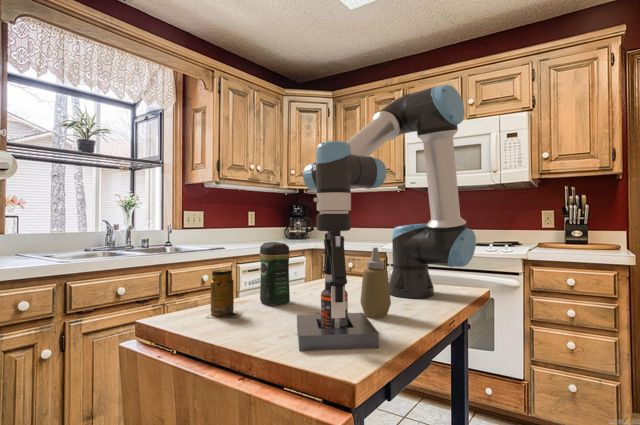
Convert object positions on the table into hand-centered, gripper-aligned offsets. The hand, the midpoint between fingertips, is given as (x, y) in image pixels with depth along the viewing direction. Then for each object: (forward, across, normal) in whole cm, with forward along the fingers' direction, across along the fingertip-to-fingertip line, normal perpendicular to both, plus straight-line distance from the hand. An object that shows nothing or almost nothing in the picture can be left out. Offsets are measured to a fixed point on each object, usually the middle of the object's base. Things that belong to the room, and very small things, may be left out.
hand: (334, 309), depth 85 cm
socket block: (+6, 0, 0) cm, 6 cm away
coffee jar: (+6, -34, -14) cm, 37 cm away
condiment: (+6, -22, -27) cm, 35 cm away
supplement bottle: (+5, 0, 0) cm, 5 cm away
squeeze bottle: (+6, -16, +13) cm, 22 cm away
